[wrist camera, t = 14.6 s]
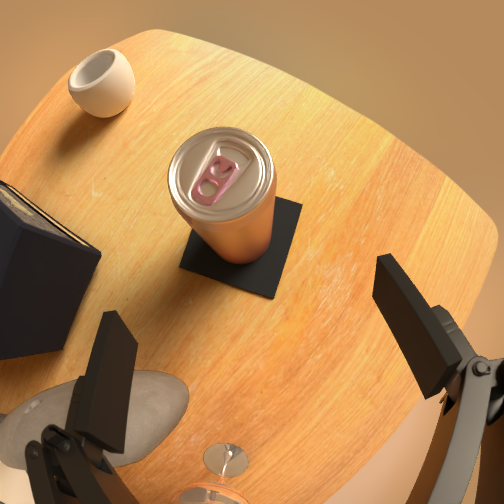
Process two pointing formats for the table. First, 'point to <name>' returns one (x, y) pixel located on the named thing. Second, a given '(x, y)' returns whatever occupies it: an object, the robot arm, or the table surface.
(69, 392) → the smooth grey egg stone
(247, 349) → the table surface
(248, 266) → the table mark
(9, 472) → the laptop
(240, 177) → the beverage can
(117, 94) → the mug
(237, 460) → the wineglass
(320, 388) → the table surface
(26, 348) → the speaker
